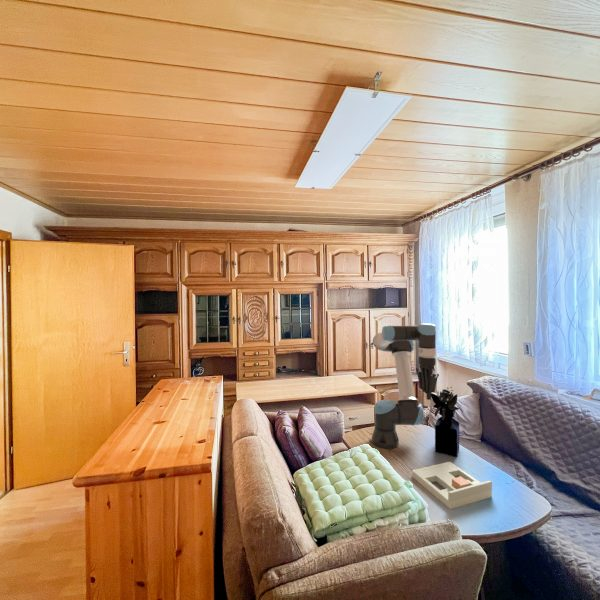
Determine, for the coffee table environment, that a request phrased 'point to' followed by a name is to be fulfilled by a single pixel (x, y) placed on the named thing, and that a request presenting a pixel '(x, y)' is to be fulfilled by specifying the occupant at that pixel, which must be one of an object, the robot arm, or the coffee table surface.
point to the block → (460, 482)
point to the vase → (446, 423)
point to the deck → (441, 485)
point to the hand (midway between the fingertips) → (427, 405)
